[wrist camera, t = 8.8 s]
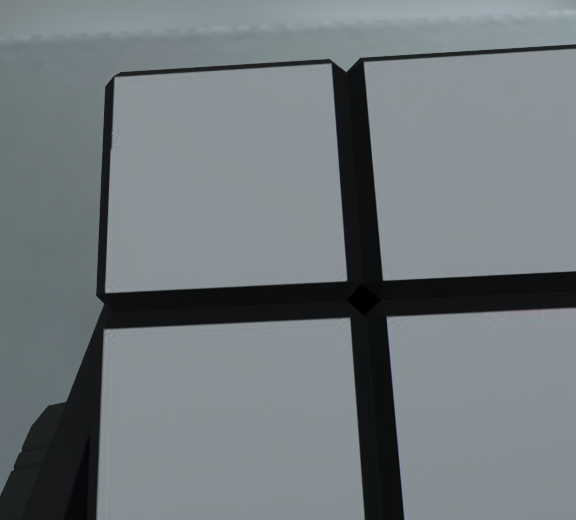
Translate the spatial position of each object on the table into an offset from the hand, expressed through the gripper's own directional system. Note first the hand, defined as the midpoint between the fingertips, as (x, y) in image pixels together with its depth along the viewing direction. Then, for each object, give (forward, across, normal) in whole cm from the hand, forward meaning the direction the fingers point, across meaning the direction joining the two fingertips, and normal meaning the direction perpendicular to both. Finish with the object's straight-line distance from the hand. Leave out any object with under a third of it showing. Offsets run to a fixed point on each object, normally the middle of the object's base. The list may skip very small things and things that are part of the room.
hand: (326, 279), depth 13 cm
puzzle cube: (+2, 0, -4) cm, 5 cm away
